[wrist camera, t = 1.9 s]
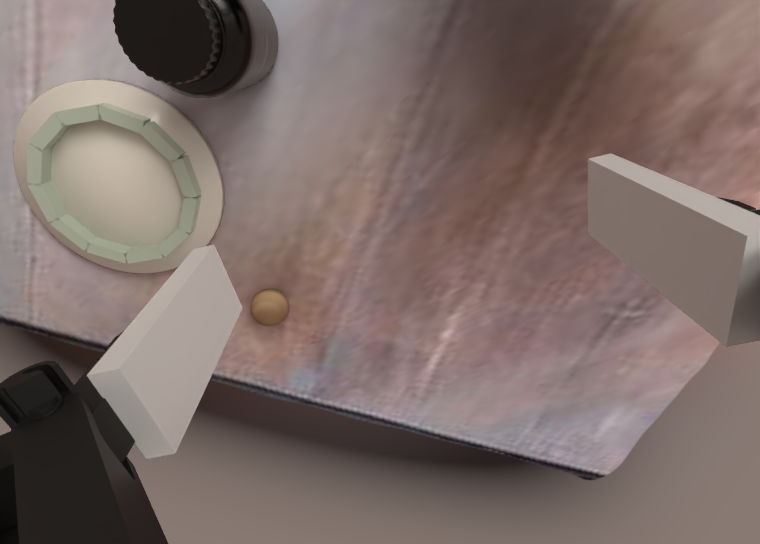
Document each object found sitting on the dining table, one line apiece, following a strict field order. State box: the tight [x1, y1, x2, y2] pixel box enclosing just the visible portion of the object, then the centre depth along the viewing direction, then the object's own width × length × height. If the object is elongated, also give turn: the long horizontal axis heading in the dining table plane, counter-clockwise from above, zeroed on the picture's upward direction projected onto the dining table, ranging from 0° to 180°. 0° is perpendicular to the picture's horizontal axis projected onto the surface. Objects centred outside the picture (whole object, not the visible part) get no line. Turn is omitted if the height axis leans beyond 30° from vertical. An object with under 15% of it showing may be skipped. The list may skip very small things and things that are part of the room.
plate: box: [13, 79, 224, 273], centre depth 35 cm, size 16×16×2 cm
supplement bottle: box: [113, 0, 278, 98], centre depth 26 cm, size 7×7×12 cm
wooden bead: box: [251, 289, 289, 326], centre depth 40 cm, size 4×4×4 cm
